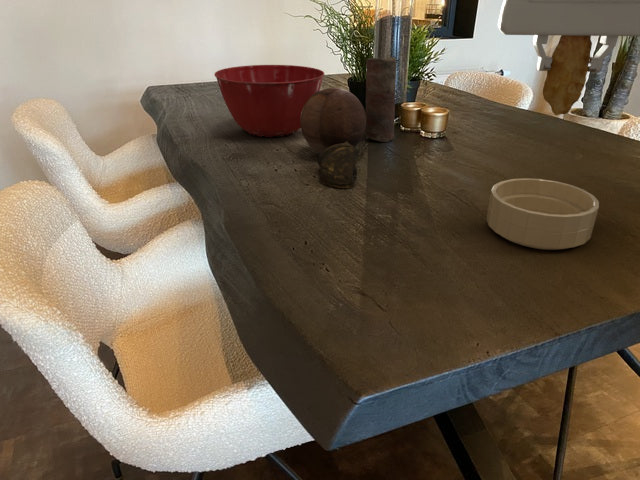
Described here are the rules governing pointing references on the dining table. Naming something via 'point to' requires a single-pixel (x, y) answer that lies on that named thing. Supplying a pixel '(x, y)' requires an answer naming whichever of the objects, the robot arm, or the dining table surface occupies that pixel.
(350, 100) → the wooden sphere
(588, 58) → the stone tool
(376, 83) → the candle
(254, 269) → the dining table surface
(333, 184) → the seashell
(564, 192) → the bowl
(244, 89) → the mixing bowl
